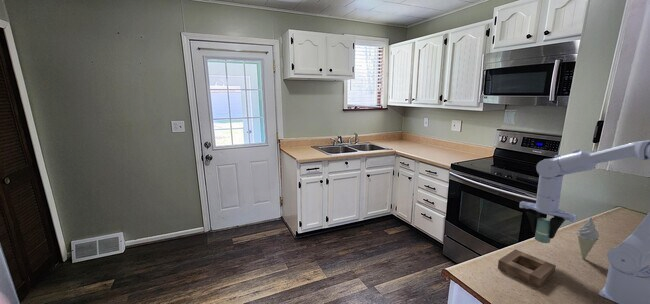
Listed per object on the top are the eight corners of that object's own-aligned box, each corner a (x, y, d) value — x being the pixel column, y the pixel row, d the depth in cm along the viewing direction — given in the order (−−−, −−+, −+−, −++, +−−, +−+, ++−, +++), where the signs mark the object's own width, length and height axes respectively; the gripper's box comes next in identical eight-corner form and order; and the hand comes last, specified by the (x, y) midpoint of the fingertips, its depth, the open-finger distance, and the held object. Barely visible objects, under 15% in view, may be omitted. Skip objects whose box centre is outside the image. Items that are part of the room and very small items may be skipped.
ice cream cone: (598, 264, 87) (606, 220, 84) (579, 262, 88) (587, 219, 85) (586, 255, 92) (593, 214, 89) (569, 254, 93) (576, 213, 90)
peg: (552, 240, 88) (555, 221, 87) (547, 244, 86) (550, 224, 85) (537, 235, 92) (540, 216, 90) (532, 239, 90) (534, 219, 88)
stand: (554, 274, 82) (555, 265, 82) (538, 287, 77) (540, 278, 76) (514, 257, 91) (515, 249, 91) (497, 268, 86) (498, 259, 85)
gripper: (583, 199, 82) (576, 240, 84) (528, 187, 94) (523, 223, 97) (574, 204, 78) (567, 247, 81) (518, 191, 91) (513, 228, 93)
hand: (543, 234), depth 88 cm, fingers closed on peg, 4 cm apart
